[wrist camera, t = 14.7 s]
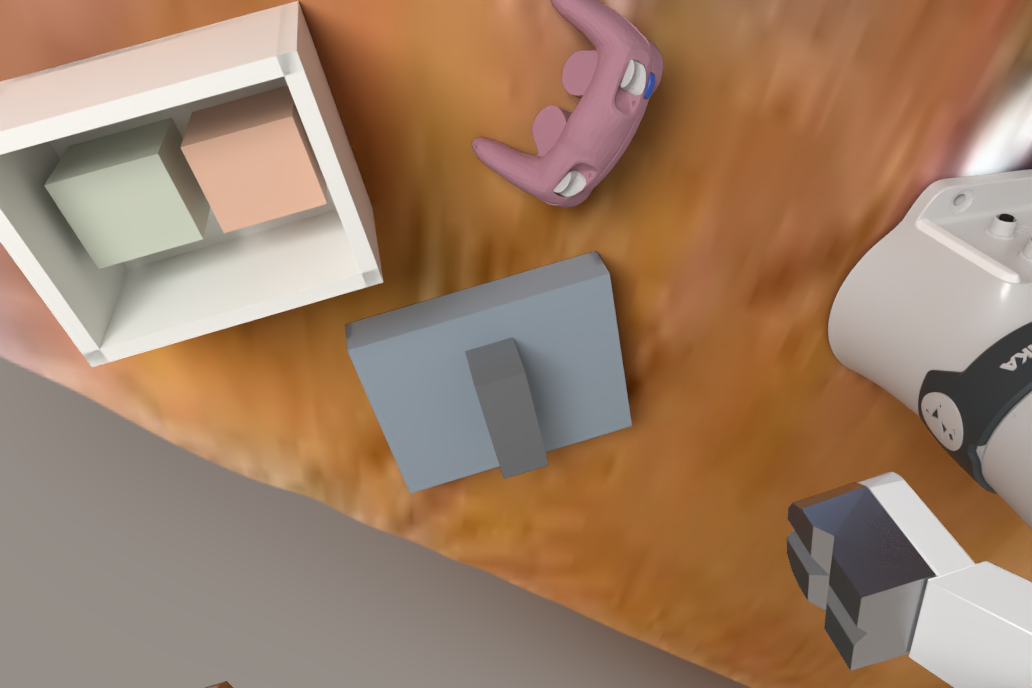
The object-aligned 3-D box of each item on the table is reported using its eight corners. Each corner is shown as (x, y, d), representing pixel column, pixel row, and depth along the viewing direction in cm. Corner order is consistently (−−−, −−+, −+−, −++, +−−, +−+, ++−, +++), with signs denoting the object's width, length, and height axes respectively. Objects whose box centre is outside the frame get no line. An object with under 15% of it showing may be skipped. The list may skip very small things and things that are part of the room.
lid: (596, 251, 47) (629, 305, 43) (619, 400, 55) (649, 461, 51) (345, 324, 47) (349, 388, 42) (406, 465, 55) (415, 533, 50)
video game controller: (515, 163, 45) (590, 233, 41) (458, 149, 41) (534, 224, 38) (605, 0, 40) (697, 63, 37) (550, -30, 37) (646, 35, 33)
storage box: (298, 0, 36) (296, 50, 29) (372, 206, 42) (383, 282, 36) (0, 81, 35) (-67, 150, 29) (124, 277, 42) (91, 367, 36)
